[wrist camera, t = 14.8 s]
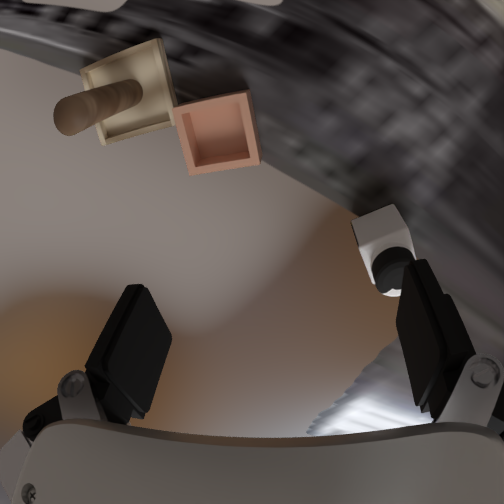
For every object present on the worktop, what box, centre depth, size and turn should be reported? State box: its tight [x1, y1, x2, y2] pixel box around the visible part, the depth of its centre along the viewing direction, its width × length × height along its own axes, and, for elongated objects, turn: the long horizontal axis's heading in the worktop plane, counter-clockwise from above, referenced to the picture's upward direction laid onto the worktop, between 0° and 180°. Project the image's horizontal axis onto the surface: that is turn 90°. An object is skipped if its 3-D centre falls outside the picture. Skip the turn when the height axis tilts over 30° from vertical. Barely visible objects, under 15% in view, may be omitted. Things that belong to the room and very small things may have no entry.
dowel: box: [54, 79, 143, 136], centre depth 30 cm, size 4×4×14 cm
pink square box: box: [172, 89, 262, 176], centre depth 37 cm, size 9×9×4 cm
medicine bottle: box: [351, 204, 416, 296], centre depth 40 cm, size 7×7×12 cm
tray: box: [80, 38, 178, 146], centre depth 36 cm, size 12×12×2 cm
